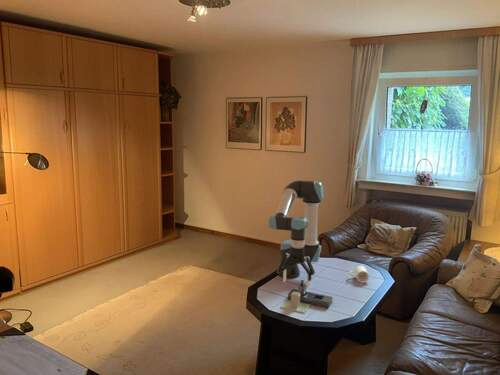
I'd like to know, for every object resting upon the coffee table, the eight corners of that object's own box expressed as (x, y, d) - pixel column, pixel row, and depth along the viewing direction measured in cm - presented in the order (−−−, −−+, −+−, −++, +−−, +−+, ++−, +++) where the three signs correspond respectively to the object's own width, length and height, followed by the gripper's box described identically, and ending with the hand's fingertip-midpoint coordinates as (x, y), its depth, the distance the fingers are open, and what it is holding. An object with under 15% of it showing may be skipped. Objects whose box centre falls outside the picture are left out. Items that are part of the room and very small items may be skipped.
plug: (290, 307, 225) (290, 294, 224) (293, 304, 229) (293, 291, 228) (297, 309, 224) (298, 295, 222) (299, 306, 227) (300, 292, 226)
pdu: (287, 300, 236) (288, 280, 234) (292, 295, 243) (293, 276, 241) (328, 309, 225) (329, 288, 223) (332, 303, 232) (333, 283, 230)
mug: (365, 277, 272) (366, 265, 271) (368, 283, 263) (369, 271, 261) (347, 276, 274) (348, 264, 272) (349, 282, 264) (350, 270, 262)
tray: (280, 308, 225) (280, 306, 225) (286, 301, 234) (286, 299, 234) (304, 314, 219) (304, 312, 219) (310, 306, 228) (310, 304, 228)
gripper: (273, 245, 223) (272, 281, 226) (317, 251, 212) (315, 290, 215) (278, 241, 229) (277, 277, 233) (321, 248, 218) (319, 285, 222)
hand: (296, 283), depth 224 cm, fingers open, 13 cm apart
